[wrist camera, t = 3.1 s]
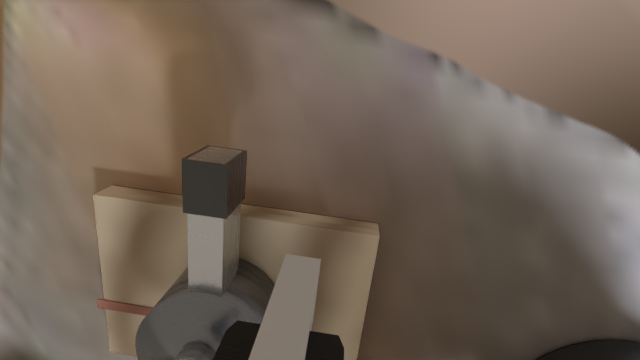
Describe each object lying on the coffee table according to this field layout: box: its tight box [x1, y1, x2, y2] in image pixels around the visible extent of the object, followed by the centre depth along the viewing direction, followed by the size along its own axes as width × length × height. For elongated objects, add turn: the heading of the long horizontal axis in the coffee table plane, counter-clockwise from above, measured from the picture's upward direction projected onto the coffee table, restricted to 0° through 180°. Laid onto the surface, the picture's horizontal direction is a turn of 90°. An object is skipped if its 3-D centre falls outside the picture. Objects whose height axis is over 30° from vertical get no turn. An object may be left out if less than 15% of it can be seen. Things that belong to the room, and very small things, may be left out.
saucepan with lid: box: [135, 146, 275, 360], centre depth 21 cm, size 16×8×7 cm, turn 174°
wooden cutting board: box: [93, 185, 380, 360], centre depth 26 cm, size 20×14×2 cm
